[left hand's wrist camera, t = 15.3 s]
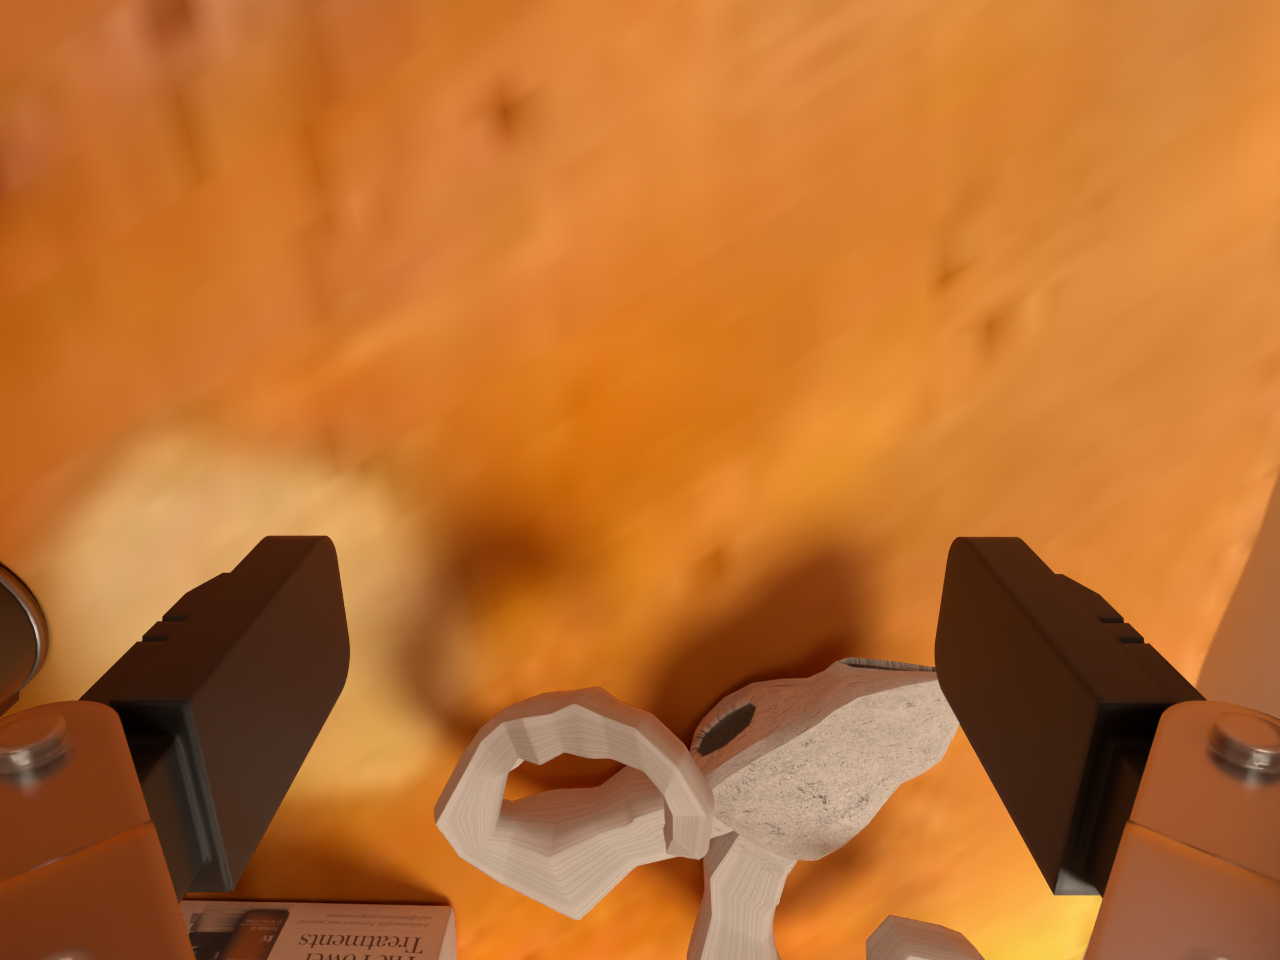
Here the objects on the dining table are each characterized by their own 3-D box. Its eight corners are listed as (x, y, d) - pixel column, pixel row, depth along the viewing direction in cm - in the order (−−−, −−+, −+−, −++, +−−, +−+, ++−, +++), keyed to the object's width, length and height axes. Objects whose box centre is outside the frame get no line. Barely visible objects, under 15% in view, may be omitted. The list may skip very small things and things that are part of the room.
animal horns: (947, 944, 55) (1017, 1146, 44) (546, 980, 57) (518, 1181, 46) (930, 556, 44) (1017, 694, 33) (441, 619, 46) (372, 768, 36)
